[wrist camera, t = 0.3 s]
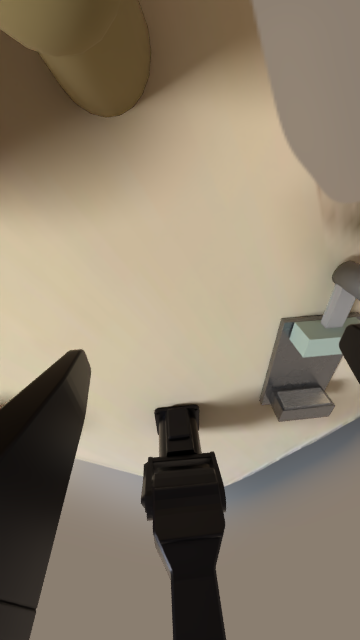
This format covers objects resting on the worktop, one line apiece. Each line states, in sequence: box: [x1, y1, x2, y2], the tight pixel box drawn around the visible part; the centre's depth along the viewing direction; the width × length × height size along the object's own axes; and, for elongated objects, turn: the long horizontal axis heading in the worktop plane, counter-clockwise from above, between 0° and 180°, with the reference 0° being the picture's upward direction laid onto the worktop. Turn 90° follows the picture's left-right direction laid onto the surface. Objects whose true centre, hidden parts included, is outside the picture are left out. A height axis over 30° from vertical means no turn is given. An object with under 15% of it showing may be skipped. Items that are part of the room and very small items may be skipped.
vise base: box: [259, 312, 360, 422], centre depth 29 cm, size 15×9×4 cm, turn 2°
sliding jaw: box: [290, 261, 360, 358], centre depth 22 cm, size 9×7×4 cm
